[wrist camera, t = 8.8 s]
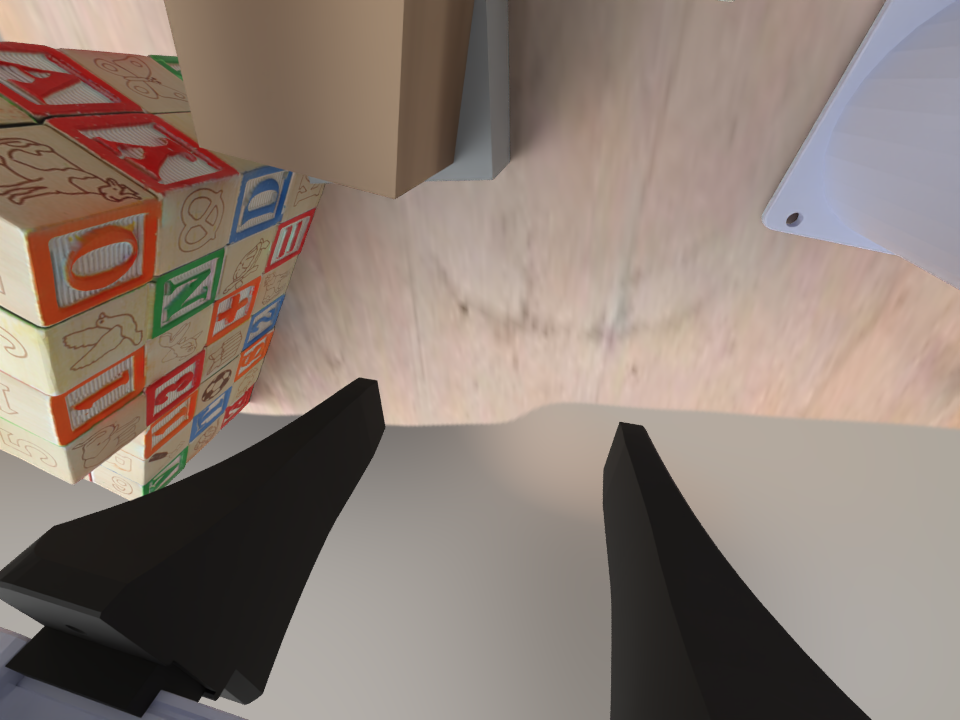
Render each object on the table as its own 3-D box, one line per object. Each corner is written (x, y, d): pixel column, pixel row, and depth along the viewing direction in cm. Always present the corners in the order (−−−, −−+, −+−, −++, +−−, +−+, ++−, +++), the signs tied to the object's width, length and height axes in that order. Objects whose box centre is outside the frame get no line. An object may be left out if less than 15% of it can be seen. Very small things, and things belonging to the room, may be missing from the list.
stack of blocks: (251, 404, 30) (89, 560, 20) (175, 359, 29) (-36, 502, 19) (339, 148, 17) (14, 234, 7) (208, 51, 16) (-375, 4, 6)
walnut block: (480, -49, 10) (410, -137, 6) (453, 163, 13) (395, 199, 9) (299, -89, 10) (116, -198, 6) (314, 127, 13) (198, 147, 9)
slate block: (508, -88, 12) (480, -149, 9) (511, 160, 16) (492, 180, 13) (312, -55, 14) (228, -96, 10) (360, 165, 18) (310, 183, 14)
